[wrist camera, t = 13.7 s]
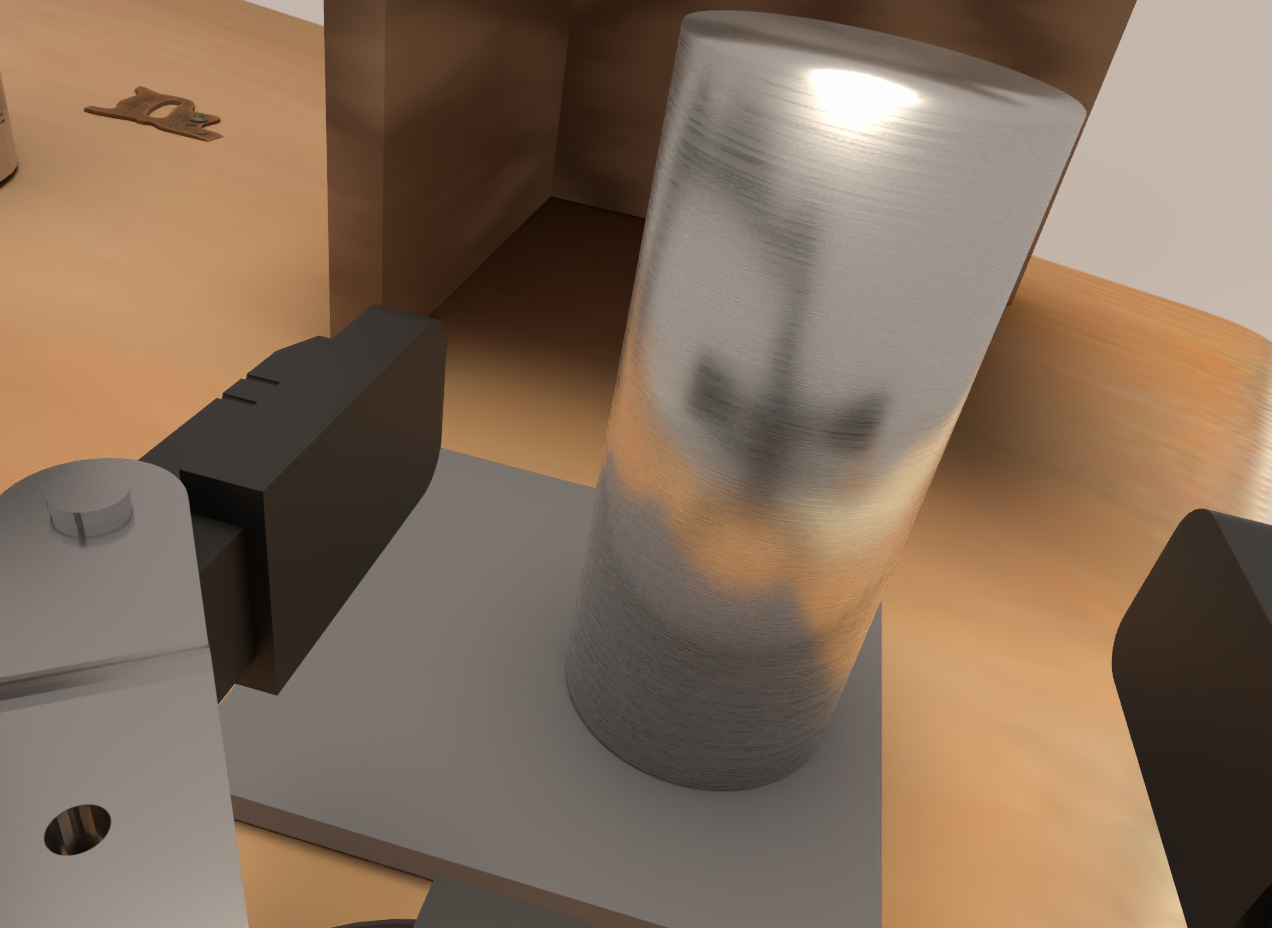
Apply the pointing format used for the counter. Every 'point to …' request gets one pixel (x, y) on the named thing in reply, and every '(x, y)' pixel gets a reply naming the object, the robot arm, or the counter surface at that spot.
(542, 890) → the rubber mat
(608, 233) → the counter surface
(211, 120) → the hand saw
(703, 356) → the steel tin
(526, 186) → the walnut desk
